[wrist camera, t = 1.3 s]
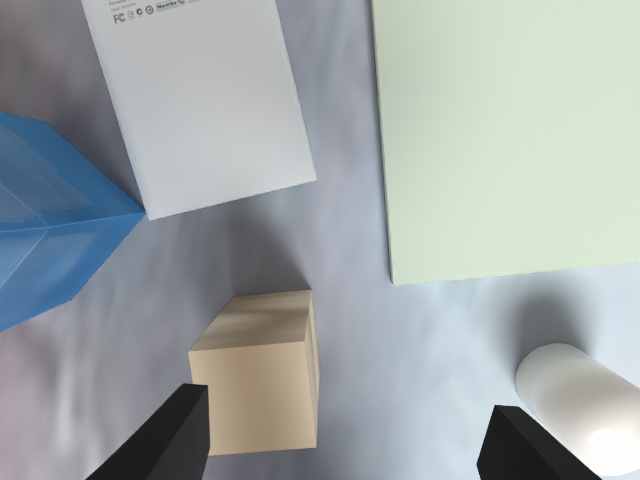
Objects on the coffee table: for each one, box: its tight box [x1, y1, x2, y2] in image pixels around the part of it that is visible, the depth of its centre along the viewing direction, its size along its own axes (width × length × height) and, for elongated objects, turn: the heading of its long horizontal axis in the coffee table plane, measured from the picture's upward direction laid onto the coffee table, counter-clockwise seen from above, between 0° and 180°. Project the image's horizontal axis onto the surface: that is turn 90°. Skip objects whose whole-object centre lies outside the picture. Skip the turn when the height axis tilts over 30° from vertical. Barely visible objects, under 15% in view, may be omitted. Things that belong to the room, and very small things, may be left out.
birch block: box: [188, 289, 320, 456], centre depth 15 cm, size 4×4×6 cm
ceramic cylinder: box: [515, 343, 640, 476], centre depth 16 cm, size 4×4×4 cm
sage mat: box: [371, 0, 640, 286], centre depth 16 cm, size 14×14×1 cm
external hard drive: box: [81, 0, 318, 221], centre depth 16 cm, size 2×8×12 cm
